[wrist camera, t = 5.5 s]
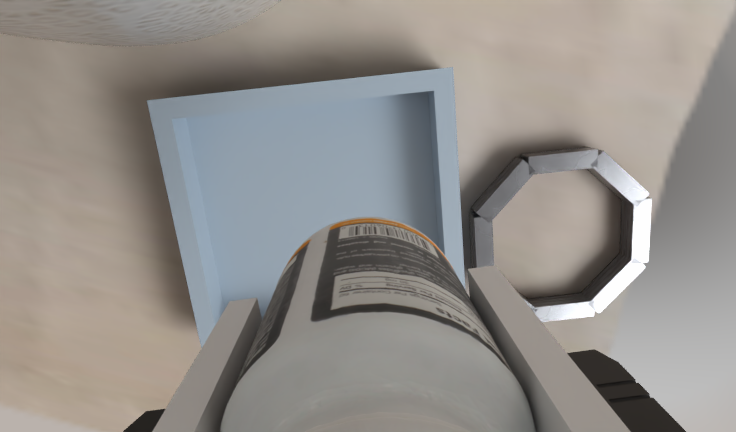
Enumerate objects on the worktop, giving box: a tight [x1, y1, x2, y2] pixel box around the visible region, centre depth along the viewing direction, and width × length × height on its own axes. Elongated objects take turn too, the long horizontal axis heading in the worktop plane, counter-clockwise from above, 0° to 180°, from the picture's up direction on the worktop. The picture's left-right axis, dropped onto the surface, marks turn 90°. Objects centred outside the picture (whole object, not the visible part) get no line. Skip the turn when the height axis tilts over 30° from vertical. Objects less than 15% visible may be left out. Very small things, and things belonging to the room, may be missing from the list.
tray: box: [147, 67, 465, 348], centre depth 25 cm, size 14×15×2 cm
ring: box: [469, 147, 652, 322], centre depth 27 cm, size 10×10×1 cm
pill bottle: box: [220, 217, 536, 432], centre depth 10 cm, size 6×6×10 cm
